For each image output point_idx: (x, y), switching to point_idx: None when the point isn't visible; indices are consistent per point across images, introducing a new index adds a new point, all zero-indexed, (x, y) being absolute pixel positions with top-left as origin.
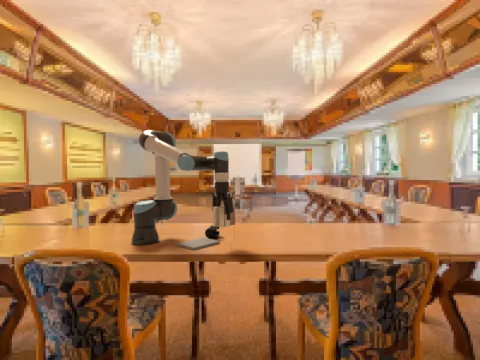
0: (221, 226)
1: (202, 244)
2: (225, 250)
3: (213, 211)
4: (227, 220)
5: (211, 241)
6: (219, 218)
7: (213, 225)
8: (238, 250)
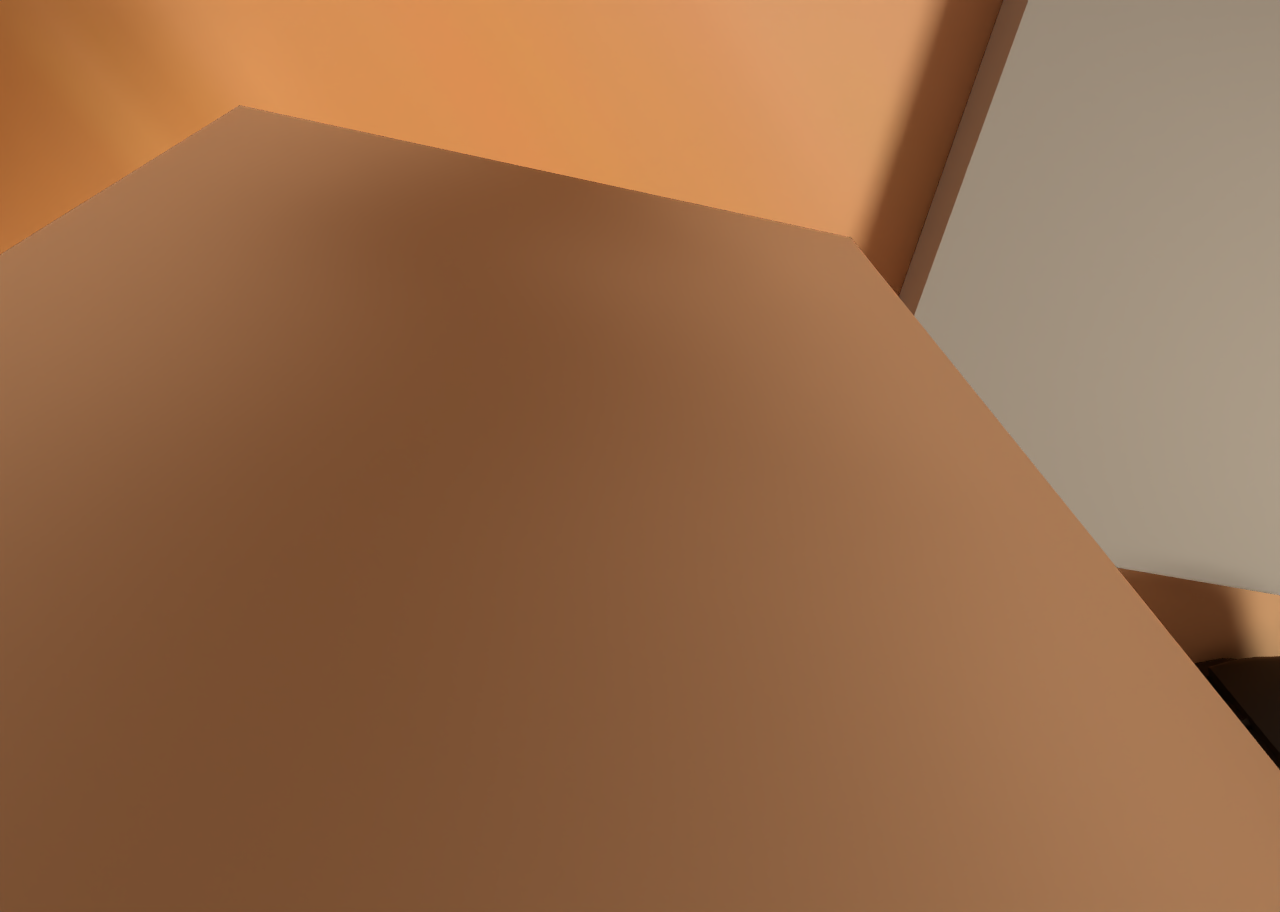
0: (223, 126)
1: (1100, 48)
2: (305, 15)
3: (1265, 821)
4: None
5: (1013, 410)
6: (249, 293)
7: (855, 243)
8: (31, 176)
